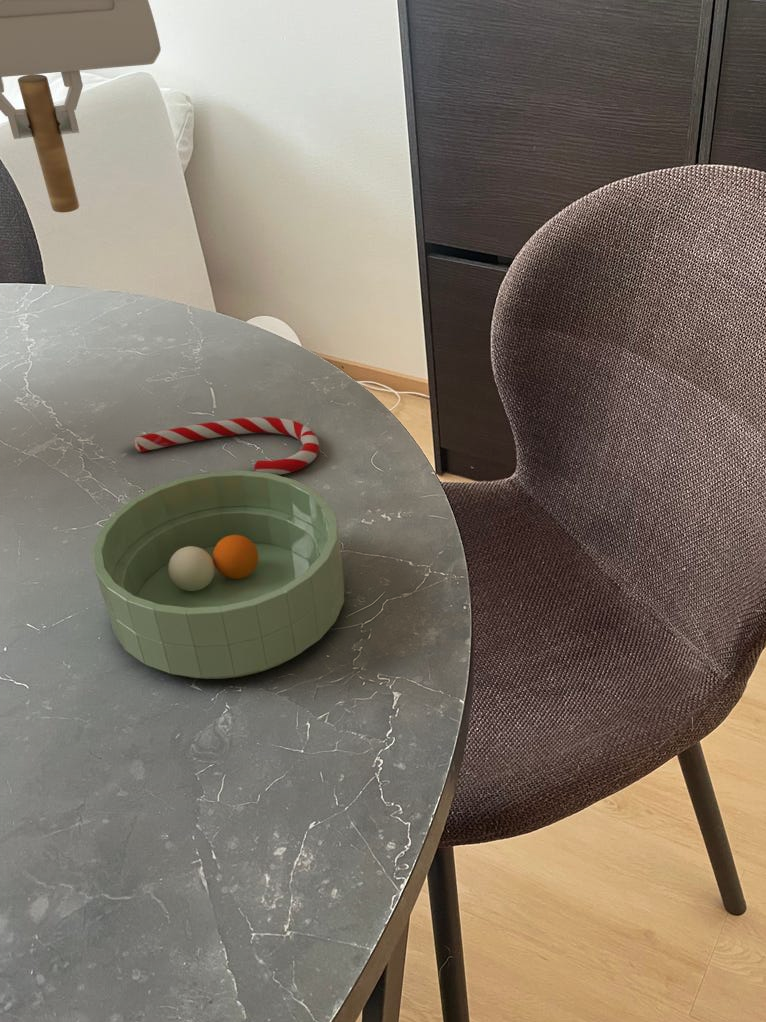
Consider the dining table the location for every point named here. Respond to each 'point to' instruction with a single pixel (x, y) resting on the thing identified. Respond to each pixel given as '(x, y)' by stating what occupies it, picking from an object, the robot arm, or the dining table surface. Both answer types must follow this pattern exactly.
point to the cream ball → (191, 568)
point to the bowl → (224, 601)
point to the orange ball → (235, 556)
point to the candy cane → (241, 427)
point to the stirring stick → (48, 142)
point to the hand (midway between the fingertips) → (46, 134)
